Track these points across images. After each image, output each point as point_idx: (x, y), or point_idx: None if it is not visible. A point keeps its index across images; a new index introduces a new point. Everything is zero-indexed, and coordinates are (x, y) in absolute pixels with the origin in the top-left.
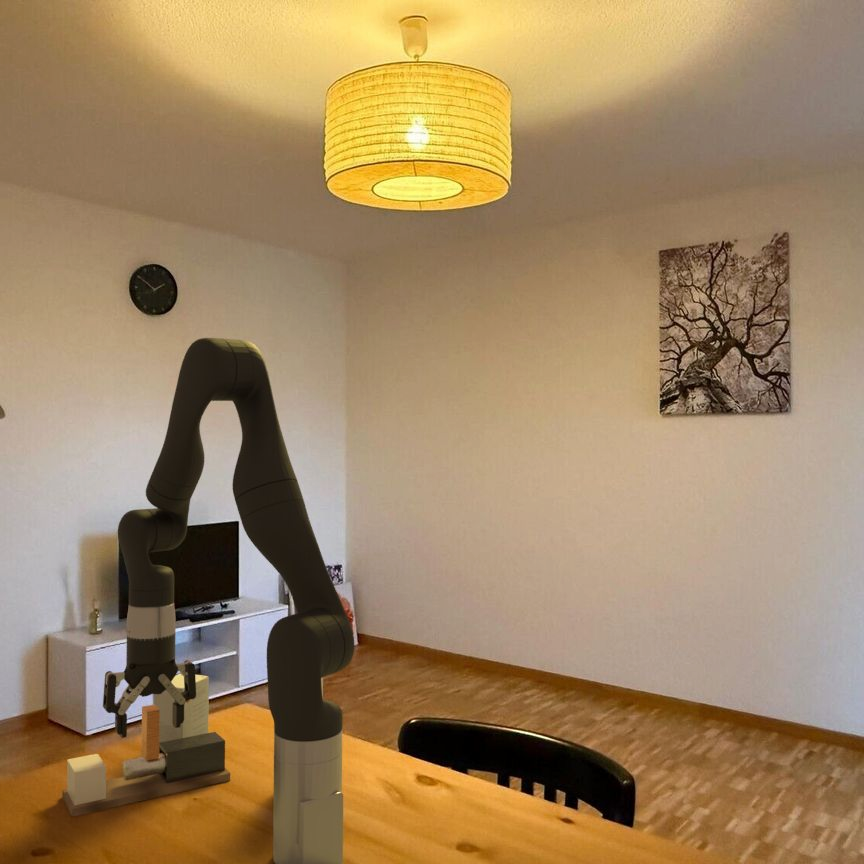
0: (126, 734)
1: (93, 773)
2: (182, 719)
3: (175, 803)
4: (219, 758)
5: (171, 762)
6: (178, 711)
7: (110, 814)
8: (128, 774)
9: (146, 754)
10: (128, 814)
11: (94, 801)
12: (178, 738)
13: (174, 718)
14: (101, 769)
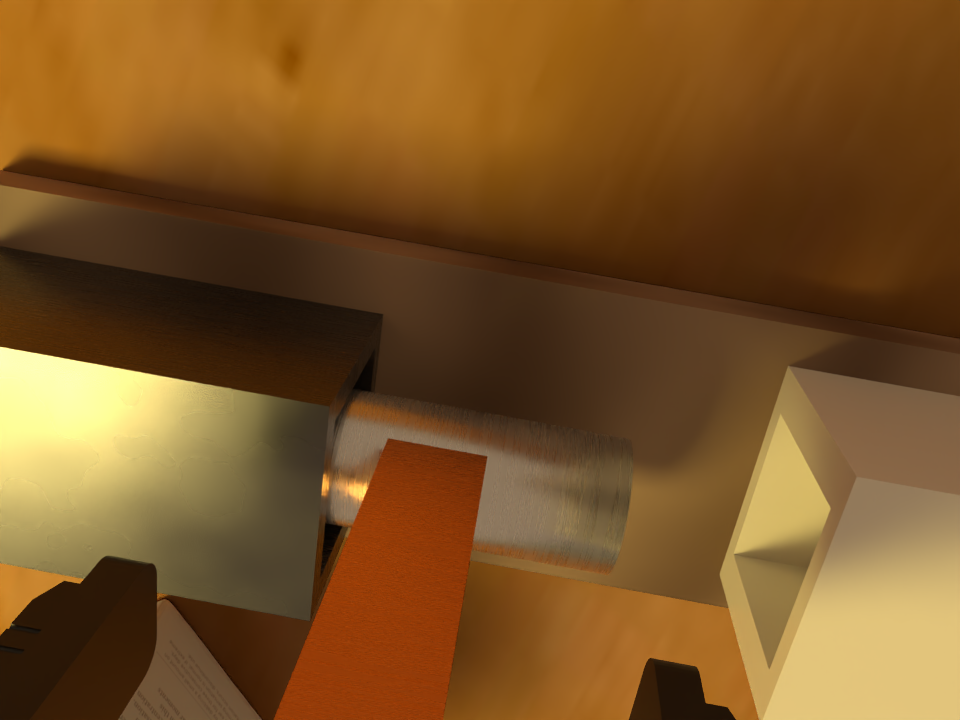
0: (657, 671)
1: (941, 473)
2: (45, 607)
3: (425, 83)
4: None
5: (317, 363)
6: (34, 677)
7: (814, 220)
8: (621, 441)
9: (482, 483)
10: (734, 139)
11: (862, 372)
12: (121, 715)
13: (114, 667)
14: (887, 470)
